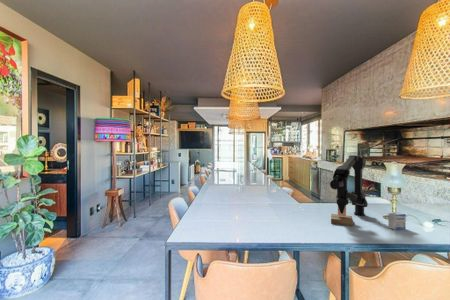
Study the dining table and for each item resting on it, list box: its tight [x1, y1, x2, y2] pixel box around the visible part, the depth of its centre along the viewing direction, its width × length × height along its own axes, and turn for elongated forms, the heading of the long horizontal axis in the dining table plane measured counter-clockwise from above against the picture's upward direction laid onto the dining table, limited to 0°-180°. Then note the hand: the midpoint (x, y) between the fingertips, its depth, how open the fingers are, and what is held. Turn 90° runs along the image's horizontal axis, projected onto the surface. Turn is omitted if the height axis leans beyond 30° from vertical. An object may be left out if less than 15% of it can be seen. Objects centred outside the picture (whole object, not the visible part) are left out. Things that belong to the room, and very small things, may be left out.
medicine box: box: [387, 212, 407, 231], centre depth 141 cm, size 8×4×9 cm, turn 105°
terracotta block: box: [337, 205, 347, 216], centre depth 152 cm, size 4×4×7 cm
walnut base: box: [330, 213, 354, 227], centre depth 152 cm, size 12×12×3 cm
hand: (341, 212), depth 152 cm, fingers closed on terracotta block, 4 cm apart
